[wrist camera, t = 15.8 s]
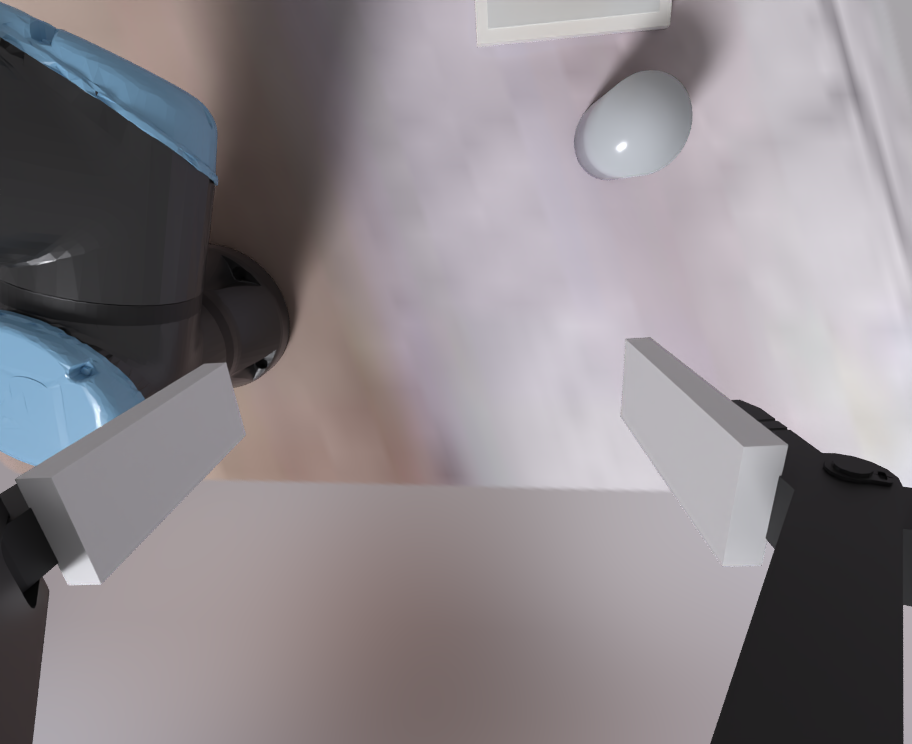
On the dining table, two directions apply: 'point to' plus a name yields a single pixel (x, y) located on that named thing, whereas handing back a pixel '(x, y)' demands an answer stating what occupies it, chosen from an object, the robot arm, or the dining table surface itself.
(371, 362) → the dining table surface
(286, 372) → the dining table surface
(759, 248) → the dining table surface
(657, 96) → the pale grey egg
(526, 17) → the shallow square tray
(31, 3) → the dining table surface
